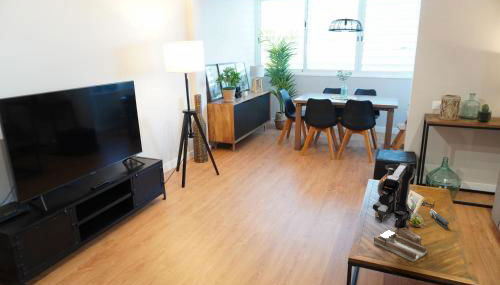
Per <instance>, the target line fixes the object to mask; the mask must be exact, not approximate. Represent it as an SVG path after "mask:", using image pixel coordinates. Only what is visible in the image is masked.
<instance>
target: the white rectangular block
mask: <svg viewBox="0 0 500 285" xmlns="http://www.w3.org/2000/svg"><path fill="white" fill-rule="evenodd" d="M386 231H387V232H386ZM386 231H384V232H385V233H384V232H382V233H383V234H382V233H381V234H382V235H380V234H379V235H380V239H382V240H384V241H390V242H391V241H392V240H394V238H395V233H396V232H394V231H392V232H391V230H389V229H388V230H386Z"/></svg>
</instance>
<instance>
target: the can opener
mask: <svg viewBox="0 0 500 285" xmlns="http://www.w3.org/2000/svg"><path fill="white" fill-rule="evenodd" d="M429 214H430V216H431V217H432V218H434V219H433V220H434V221H435V222H436V223H437V222H438V223H437V224H439V226H441V227H443V228H444V229H448V228H449V224H450V223H449V221H448V220H447V219H445V217H443V216H441V214H439V213H437V212H436V211H435V210H433V208H431V209H430V210H429Z"/></svg>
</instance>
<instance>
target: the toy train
mask: <svg viewBox="0 0 500 285" xmlns="http://www.w3.org/2000/svg"><path fill="white" fill-rule="evenodd" d="M378 202H379V198H378V200H377V202H376V203H378ZM379 203H380V202H379ZM374 216H375V217H376V218H379V215H378V213H377V212H376V211H375V210H374ZM385 217H386V216H383V219H385Z"/></svg>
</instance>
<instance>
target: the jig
mask: <svg viewBox="0 0 500 285" xmlns="http://www.w3.org/2000/svg"><path fill="white" fill-rule="evenodd" d="M387 231H388V230H385V231H384V232H382V233H381V234H378V235H376V236H375V237H373V243H374V244H375V245H377V246H380V247H381V248H383V249H386V250H387V251H389V252H392V253H394V254H396V255H397V256H400V257H401V258H404V259H406V260H409V261H411V262H413V263H414V262H416V261H417V260H419V259H420V258H422V257H423V256H425V255H426V254H428V251H427V247H425V246H423V245H422V244H421V245H419V244H416V243H414V242H412V241H410V240H407V239H405V238H403V237H400V236H399V234H398V233H396V232H394V233H395V238H394V240H392V241H391V242H390V241H384V240H382V239H380V235H382V234H383V233H385V232H387ZM390 231H391V230H390ZM391 232H393V231H391Z"/></svg>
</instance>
